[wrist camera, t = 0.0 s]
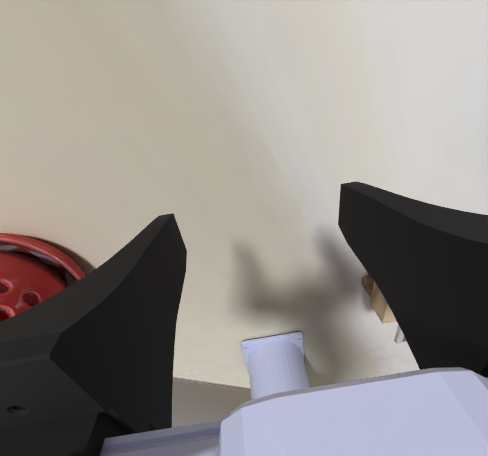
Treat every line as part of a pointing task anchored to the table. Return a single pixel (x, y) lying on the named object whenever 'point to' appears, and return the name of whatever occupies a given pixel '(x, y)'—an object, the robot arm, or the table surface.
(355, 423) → the robot arm
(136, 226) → the table surface
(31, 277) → the plant pot
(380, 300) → the stool
